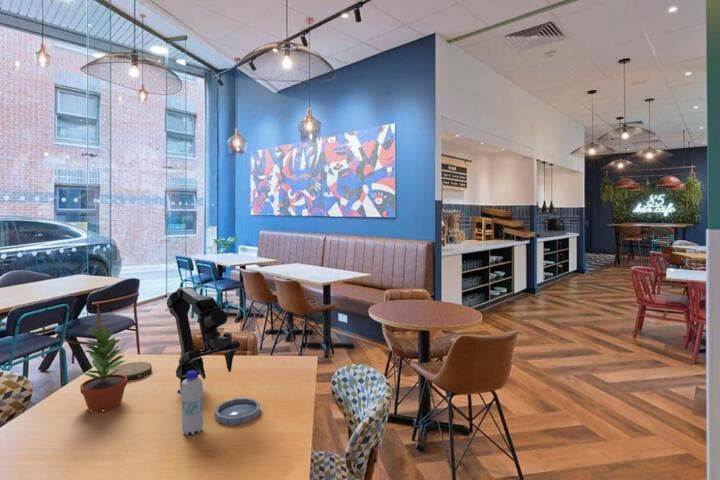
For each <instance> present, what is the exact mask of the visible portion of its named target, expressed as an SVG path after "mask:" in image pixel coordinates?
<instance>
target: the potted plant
mask: <svg viewBox="0 0 720 480" xmlns="http://www.w3.org/2000/svg"><path fill="white" fill-rule="evenodd" d="M87 328H88V329H89V330H90V332H91V333H92V334H93V335H94V336H95V337H96V340H90V339H89V340H87V339H86V341H87V342H88V343H90V344H84V346H85V347H87V348H88V349H90V350H85V352H86V353H88V354H89V356H90V357H91V359H93V360H92V361H91V363H92V364H93V366H94V367H95V369H96V370H88V371H87V372H86V373H80V374H82V375H84V376H87V377H90V379H87V380H85V381H84V382H82V383H81V384H80V386H79V387H80V394H82V396H83V398H84V401H85V404H86V406H87V410H88V409H89V410H92V411H102V410H107V411H109V410H108V409H111V410H113V409H115V408H118V407H119V406H120V405H121V404H120V403H122V400H123V396H124V392H125V390H126V387H127V385H128V381H127V377H126V376H125V375H121V374H114V373H115V372H117V371H119V370H121V369H118V370H117V371H115V372H113V373H110V371H111V370H112V369H113V368H115V367H117V366H119V365H122V364H123V363H124V364H125V362H126V361H128V358H127V359H126V360H121V359H122V358H124V357H125V356H126V354H124V355H119V356H117V355H118V354H119V353H120V352H121V351H122V350H123V348H124V347H123V348H120V349H118V347H119V346H120V343H119V342H120V341H121V340H122V339H124V337H122V338H120V339H117V340H116V338H115V337H116V336H113V337H112V334H113V333H114V332H115V330H116V329H115V328H114V329H113V330H111V331H109V332H108V327H105V325H103V326H102V327H100V328H99V329H98V330H96V329H95V328H93V327H92V328H91V327H88V326H87ZM111 337H112V338H111ZM118 343H119V344H118ZM116 344H118V345H117V346H116ZM115 346H116V347H115ZM96 374H98V375H96ZM118 405H119V406H118ZM112 408H113V409H112ZM89 410H88V411H89Z"/></svg>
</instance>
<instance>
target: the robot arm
mask: <svg viewBox="0 0 720 480" xmlns="http://www.w3.org/2000/svg"><path fill="white" fill-rule="evenodd" d="M166 306H167V308H168V310H169V313H170V314H171V315H172V316H173V317H174V318H175V322H176V323H175V324H176V329H177V332H178V333H177V335H178V338H179V346H180V350H181V354H180V356H179V360H178V366H177V368H176V370H175V375H176V378H177V379H179V380H180V381H179V382H180V389H178V390H177V393H178V394H179V393H180V394H181V386H182V382H183V381H184V380H185V379H186V374H187V372H188V371H191V370H195V371H197V373H198V376H197V378H199V376H201V377H202V379H203V380H206V373H205V368H204V361H203V359H204V358H203V356H208V355H212V354H216V353H221V352H225V353H224V358H225V365H226V369H227V370H228V371H227V372H229V373H231V372H232V366H233V360H234V356H235V354H236V352H238V351H239V350H238V349H240V348H241V342H240V341H239V340H235V341H232V339H233V338H232V335H231V333H230V332H225V333H223V335H221V332H220V331H219V329H218V328H219V327H221V326H223V325H224V324H226V322H227V320H228V315H227V313H226V312H225V311H224V310H223V309H221V306H220V305H219V304H218V303H217V301H216V299H214V297H213V296H209V295H202V294H200V293H198V292H197V291H196V290H194V289H193V287H191V286H183V287H179V288H177V290H176V291H174V292H173V293H171V294H170V295H169V296H168V298H167V299H166ZM190 309H191V310H192V311H193V313H194V314H195V315H197V316H199V317H198V319H197V323H198V325H199V331H200V335H201V336H200V340H201V341H202V342H201V343H202V346H203V347H202V350H200V348H199V349H195V346H194V340H193V336H192V335H193V334H192V329H191V326H190V325H191V324H190V319H189V312H190Z"/></svg>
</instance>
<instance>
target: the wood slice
mask: <svg viewBox="0 0 720 480" xmlns="http://www.w3.org/2000/svg"><path fill="white" fill-rule="evenodd" d="M152 368H153V367H152V363H150V362H146V361H133V362H128V363H127V362H126V363H124V364H123V363H122V364H120V365H118V366H116V367H115V368H113V369H111V370H110V371H109V374H110V373H113V372H115V371H117V370H118V369H121V370H119V371H117V372H115V373H114V374H121V375H125V376H126V377H127V382H132V381H131V380H133V381H137V380H141V379H143V378H146V377H148V376H149V375H151V373H152V370H153V369H152ZM147 375H148V376H147ZM145 376H146V377H145ZM140 378H141V379H140Z"/></svg>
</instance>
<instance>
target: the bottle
mask: <svg viewBox="0 0 720 480" xmlns="http://www.w3.org/2000/svg"><path fill="white" fill-rule="evenodd" d="M197 376H198V378H197ZM180 389H181V393H180V398H181V408H182V409H181V411H182V412H181V413H182V418H181V430H182V432H183V434H185V435H186V436H189V434H191V435H192V436H193V435H195V433H197V434H199V433H200V432H201V430H202V429H203V426H204V420H203V418H204V417H203V394H204V385H203V381H202V379H201V378H200V377H199V375H198V373H197V371H195V370H191V371H188V372H187V374H186V379H185V380H184V381H183V382H182V386H181V388H180Z"/></svg>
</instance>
